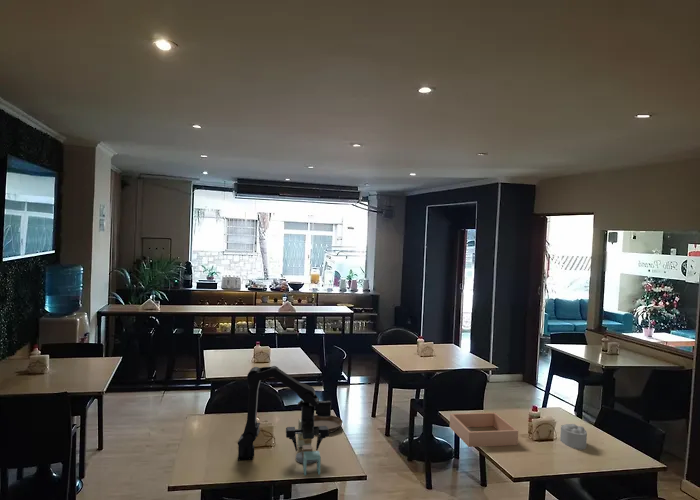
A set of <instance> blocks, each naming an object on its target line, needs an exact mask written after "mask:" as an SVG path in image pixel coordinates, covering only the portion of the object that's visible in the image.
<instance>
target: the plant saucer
mask: <svg viewBox="0 0 700 500" xmlns="http://www.w3.org/2000/svg"><path fill="white" fill-rule="evenodd" d="M342 424H343V419H341V418H340V417H339V416H335V415H331V417H318V416H317V414H314V426H327V427H328V430H329V433H333V432H335V431H337V430H338V429H339V428H340V427H342Z"/></svg>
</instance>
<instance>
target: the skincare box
mask: <svg viewBox="0 0 700 500" xmlns="http://www.w3.org/2000/svg"><path fill="white" fill-rule="evenodd" d="M297 429H301V418H298V426H297ZM312 441H313V439H303V434H297V439H296V444H297V448H302V446H303V445H311V446H312Z"/></svg>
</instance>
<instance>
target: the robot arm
mask: <svg viewBox="0 0 700 500" xmlns="http://www.w3.org/2000/svg"><path fill="white" fill-rule="evenodd" d="M270 378H273V379H275V380H277V381H278V382H279V383H281V384H283V385H284V386H286V387H287V388H289V389H290V390H292V391H293V392H295V394H296V395H297V396H298V397H299V399H300V401H299V402H298V403H297V405H296V406H297V407H299V408H301V411H300V412H301V415H300V416H301V418H300V419H301V429H298V428H296V427H295V426H287V427H286V428H285V437H286V438H287V439H289V440H291V441H292V443H293V446H294V449H295V452H297V451H298V444H297V435H298V434H303V439H312V440H314V439H315V436H317V438H316V445H315V446H316V450H315V451H319V448H320V445H321V442H322V440H323V439H326V438H327V437H329V435H330V432H329V430H328V427H327V426H314V415H317V416H318V417H331V414H332V412H331V411H332V406H331V404H332V403H331V400H320V399H319V397H318V396H317V394H316V390H315V388H314V387H313V386H311V385H309V384H307V383H303V382H300V381H298V380H296V378H293V377H292V376H290V375H289V374H287V373H286V372H285V371H283V370H281V369H280V368H279V367H278V366H277V365H271V366H263V367H259V366H258V367H257V366H254V367H252V368H251V369H250V370H249V372H248V374H247V375H246V379H247V386H248V399H247V401H248V403H247V417H246V423H245V427H244V431H243V433H242V434H241V435H240V437H239V439H238V441H237V446H238V452H237V453H238V454H237V455H238V456H237V461H253V459H254V457H255V445H254V442H255V441H256V439H257V437H259V434H260V426H261V422H259V421H258V420H257V413H258V403H259V402H258V400H259V388H260V385H261V382H262V381H265V380H267V379H270Z"/></svg>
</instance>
